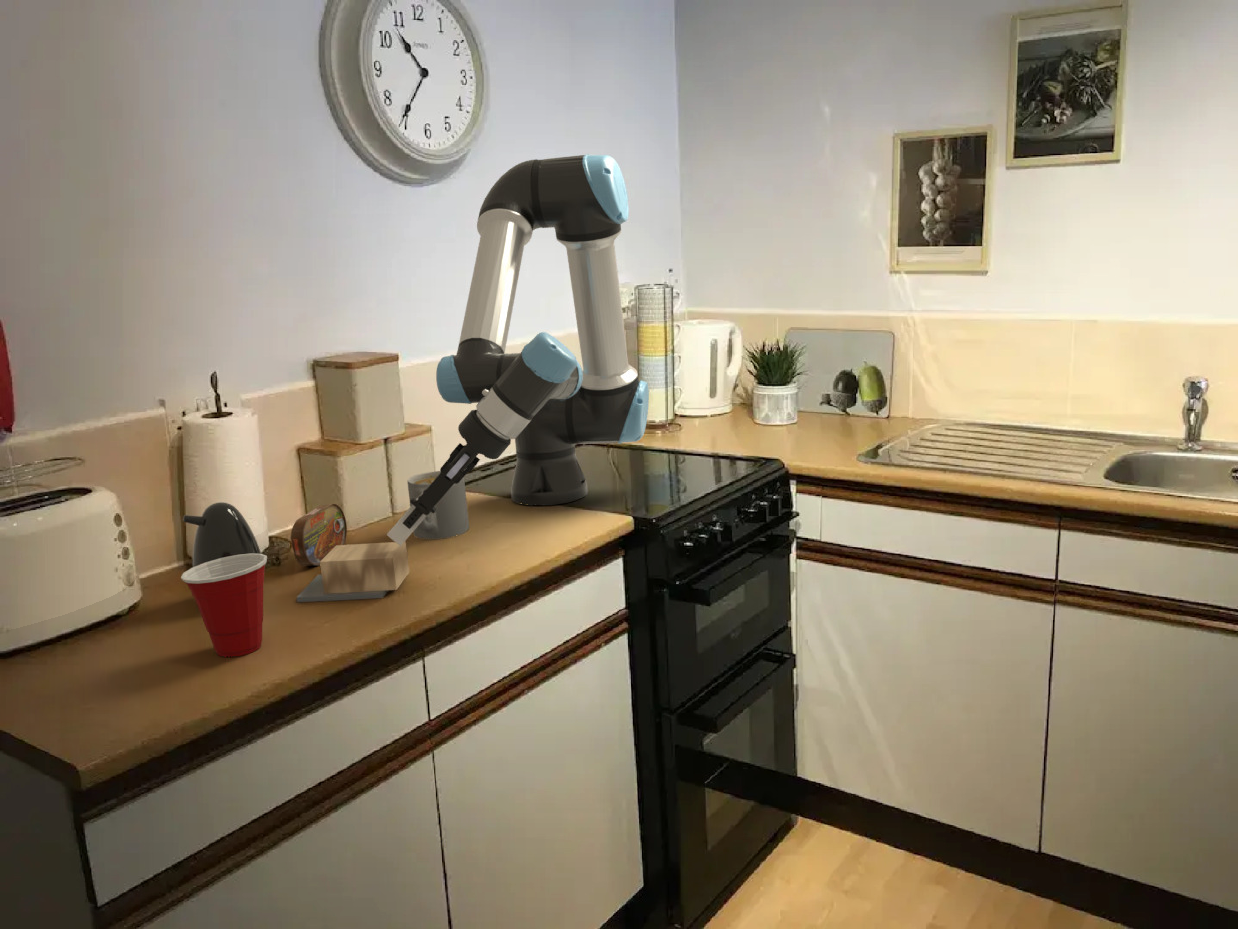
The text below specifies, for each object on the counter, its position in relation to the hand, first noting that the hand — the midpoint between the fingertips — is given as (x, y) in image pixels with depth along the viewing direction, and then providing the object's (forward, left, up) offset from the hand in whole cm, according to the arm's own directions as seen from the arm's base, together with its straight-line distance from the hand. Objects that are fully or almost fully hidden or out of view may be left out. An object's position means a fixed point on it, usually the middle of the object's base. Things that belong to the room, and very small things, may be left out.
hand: (394, 538), depth 156 cm
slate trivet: (+6, -5, -8) cm, 11 cm away
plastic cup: (+27, +6, -8) cm, 28 cm away
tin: (+3, -24, -8) cm, 26 cm away
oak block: (0, 0, -4) cm, 4 cm away
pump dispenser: (+21, -15, -8) cm, 27 cm away
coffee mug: (-17, -21, -8) cm, 28 cm away
